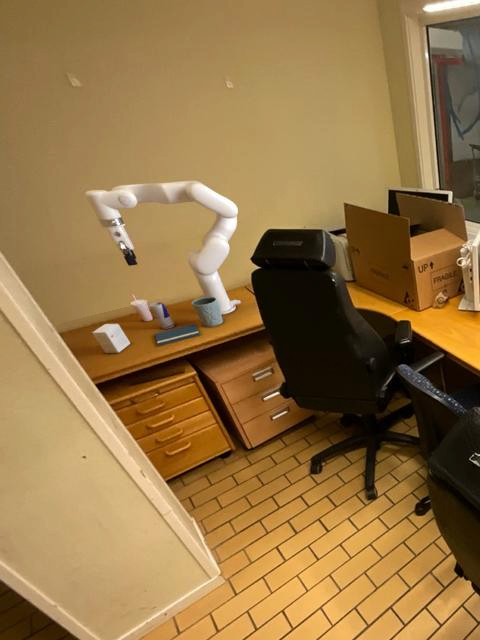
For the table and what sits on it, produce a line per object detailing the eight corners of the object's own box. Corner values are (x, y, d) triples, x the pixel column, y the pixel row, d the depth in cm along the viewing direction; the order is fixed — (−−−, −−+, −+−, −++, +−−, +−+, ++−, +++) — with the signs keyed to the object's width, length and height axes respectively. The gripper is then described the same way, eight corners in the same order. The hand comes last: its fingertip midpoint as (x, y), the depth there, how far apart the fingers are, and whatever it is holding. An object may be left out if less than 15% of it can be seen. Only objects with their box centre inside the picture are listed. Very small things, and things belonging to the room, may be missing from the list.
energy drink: (177, 324, 194) (166, 302, 187) (169, 329, 189) (157, 307, 182) (167, 323, 194) (155, 301, 187) (159, 328, 190) (146, 306, 183)
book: (195, 325, 193) (194, 323, 192) (199, 335, 186) (198, 333, 185) (156, 335, 185) (155, 333, 184) (158, 345, 177) (157, 344, 177)
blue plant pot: (198, 323, 195) (187, 301, 188) (219, 316, 202) (209, 294, 195) (208, 329, 190) (197, 307, 183) (229, 321, 197) (220, 299, 190)
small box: (118, 344, 178) (104, 323, 172) (131, 343, 178) (118, 323, 172) (105, 353, 171) (91, 332, 165) (118, 353, 172) (105, 332, 166)
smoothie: (137, 321, 196) (122, 295, 188) (150, 315, 201) (136, 290, 193) (145, 323, 194) (130, 297, 186) (159, 318, 199) (144, 292, 191)
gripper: (124, 225, 162) (144, 265, 171) (122, 217, 172) (142, 255, 182) (100, 228, 158) (122, 269, 167) (100, 219, 168) (121, 258, 178)
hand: (132, 262), depth 175 cm, fingers open, 9 cm apart
